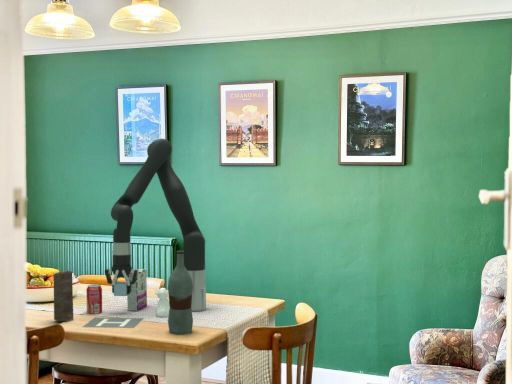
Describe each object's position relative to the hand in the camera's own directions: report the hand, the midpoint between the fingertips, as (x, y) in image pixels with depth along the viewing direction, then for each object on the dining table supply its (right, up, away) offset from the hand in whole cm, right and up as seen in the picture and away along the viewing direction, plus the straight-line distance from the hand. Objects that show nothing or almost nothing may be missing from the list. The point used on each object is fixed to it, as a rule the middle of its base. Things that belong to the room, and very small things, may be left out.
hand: (121, 294), depth 273 cm
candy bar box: (+4, -8, +13) cm, 16 cm away
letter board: (0, -9, -16) cm, 18 cm away
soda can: (-12, -9, +2) cm, 15 cm away
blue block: (0, 0, 0) cm, 0 cm away
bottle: (+28, -10, -28) cm, 40 cm away
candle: (-21, -9, -12) cm, 25 cm away
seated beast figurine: (+18, -9, -3) cm, 20 cm away
